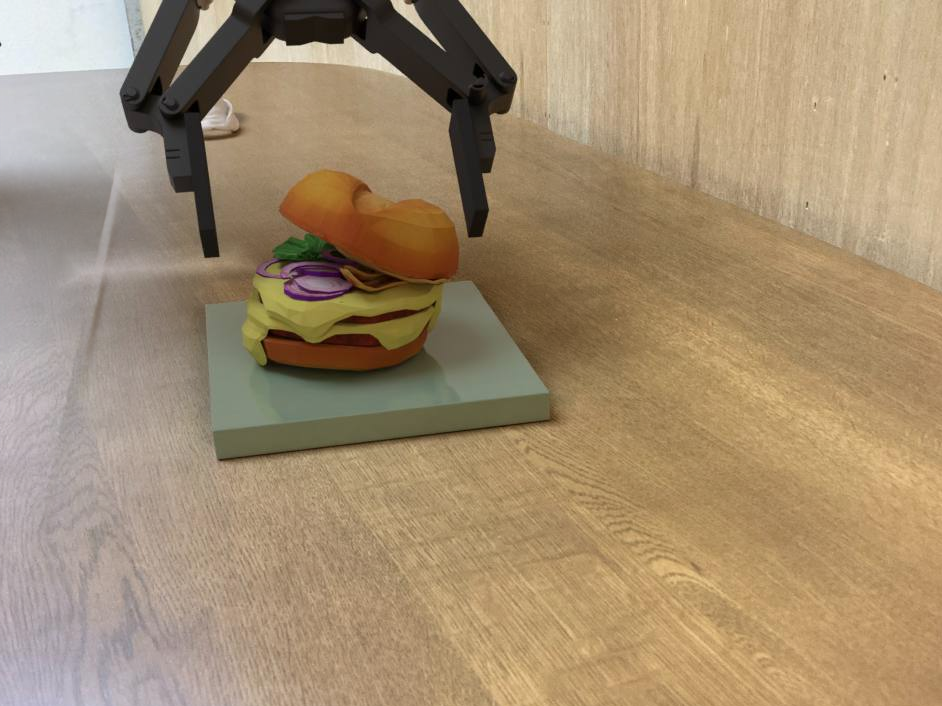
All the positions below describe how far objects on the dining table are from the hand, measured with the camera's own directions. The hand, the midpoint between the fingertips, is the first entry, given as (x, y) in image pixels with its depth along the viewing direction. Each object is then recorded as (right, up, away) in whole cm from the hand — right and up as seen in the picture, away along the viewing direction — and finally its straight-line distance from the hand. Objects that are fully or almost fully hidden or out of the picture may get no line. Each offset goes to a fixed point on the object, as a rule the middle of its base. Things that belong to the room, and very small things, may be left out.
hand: (347, 234), depth 58 cm
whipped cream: (-24, +26, +59) cm, 69 cm away
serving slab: (0, -6, +4) cm, 7 cm away
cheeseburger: (0, -5, +3) cm, 6 cm away
